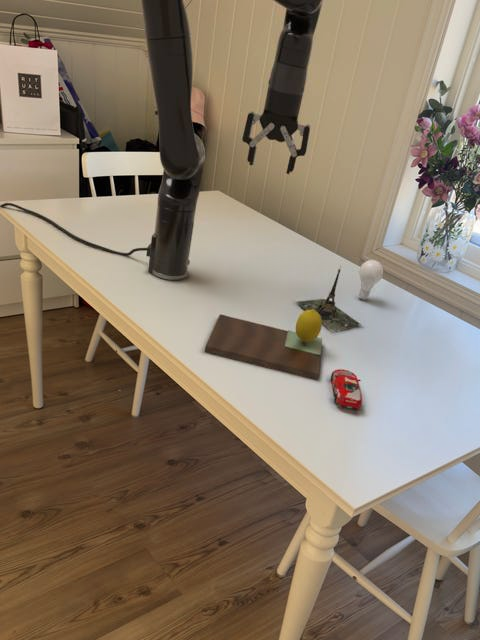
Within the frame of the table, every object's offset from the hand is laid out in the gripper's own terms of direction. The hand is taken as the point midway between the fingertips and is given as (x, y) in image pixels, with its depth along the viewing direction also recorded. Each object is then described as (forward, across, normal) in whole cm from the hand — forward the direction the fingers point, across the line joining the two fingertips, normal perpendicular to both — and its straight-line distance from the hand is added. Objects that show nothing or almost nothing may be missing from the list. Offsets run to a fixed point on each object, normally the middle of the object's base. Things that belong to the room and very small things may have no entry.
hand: (269, 168), depth 136 cm
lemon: (+29, -17, +23) cm, 40 cm away
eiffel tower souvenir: (+30, -22, +2) cm, 37 cm away
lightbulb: (+30, -31, -14) cm, 46 cm away
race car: (+30, -27, +38) cm, 56 cm away
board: (+30, -9, +27) cm, 41 cm away
